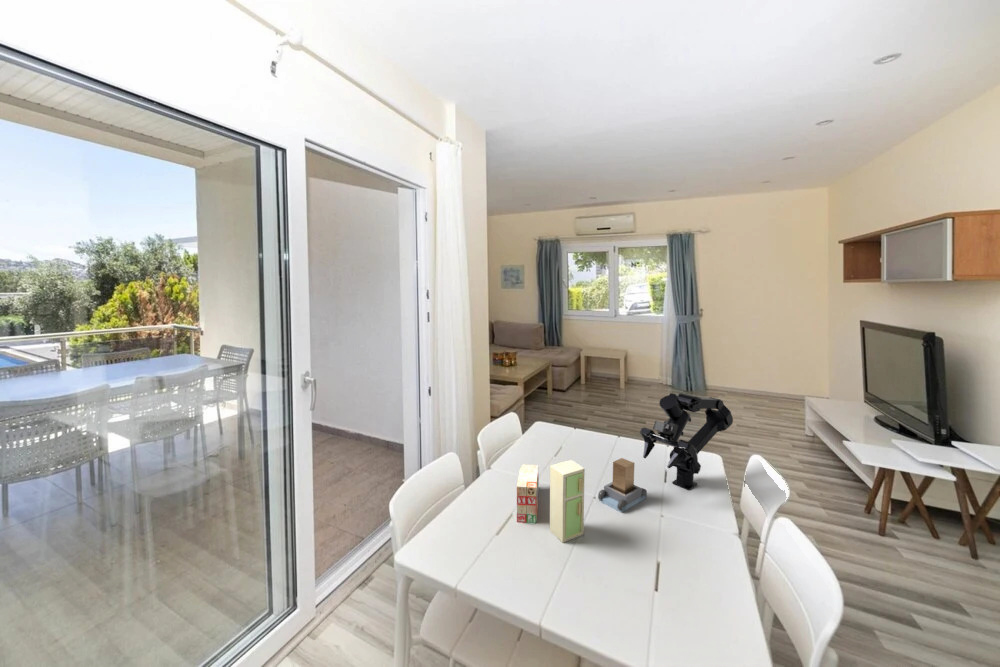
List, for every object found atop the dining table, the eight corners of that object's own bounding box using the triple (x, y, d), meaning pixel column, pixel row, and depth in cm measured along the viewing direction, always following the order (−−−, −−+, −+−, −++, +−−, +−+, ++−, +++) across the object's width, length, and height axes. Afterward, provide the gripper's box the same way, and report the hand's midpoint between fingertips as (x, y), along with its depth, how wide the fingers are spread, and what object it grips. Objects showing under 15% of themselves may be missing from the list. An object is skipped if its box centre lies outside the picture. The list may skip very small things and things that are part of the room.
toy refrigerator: (563, 544, 111) (564, 475, 108) (549, 530, 117) (549, 464, 115) (585, 536, 114) (586, 469, 112) (570, 523, 121) (571, 459, 118)
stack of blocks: (521, 487, 143) (521, 456, 141) (538, 488, 142) (538, 456, 140) (516, 522, 122) (516, 485, 120) (536, 524, 121) (536, 486, 119)
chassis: (624, 487, 142) (624, 475, 142) (646, 497, 135) (647, 485, 134) (598, 501, 133) (598, 489, 132) (620, 513, 126) (620, 500, 125)
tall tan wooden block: (620, 490, 137) (621, 457, 136) (633, 496, 133) (634, 463, 132) (612, 494, 134) (613, 461, 133) (624, 501, 130) (625, 467, 129)
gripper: (643, 405, 141) (622, 441, 136) (693, 419, 125) (671, 461, 121) (655, 421, 146) (636, 457, 141) (704, 437, 131) (685, 477, 126)
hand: (655, 462), depth 132 cm, fingers open, 9 cm apart
